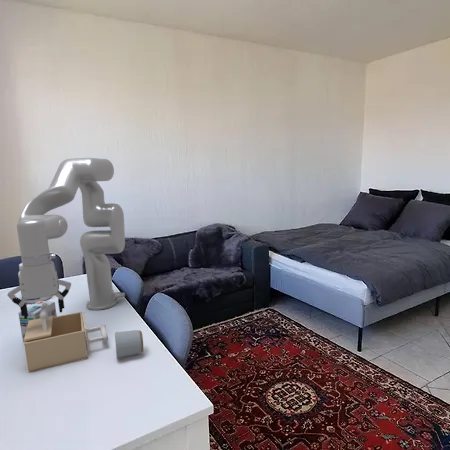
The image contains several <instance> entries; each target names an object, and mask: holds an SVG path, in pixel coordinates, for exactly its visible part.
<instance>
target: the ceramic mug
mask: <svg viewBox="0 0 450 450" xmlns="http://www.w3.org/2000/svg"><path fill="white" fill-rule="evenodd" d="M114 339H115V354H116V359H120V358H127V357H131V356H135V355H139V354H142V353H143V352H144V338H143V331H141V330H139V329H134V330H133V329H132V330H125V331H116V332H114Z"/></svg>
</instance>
